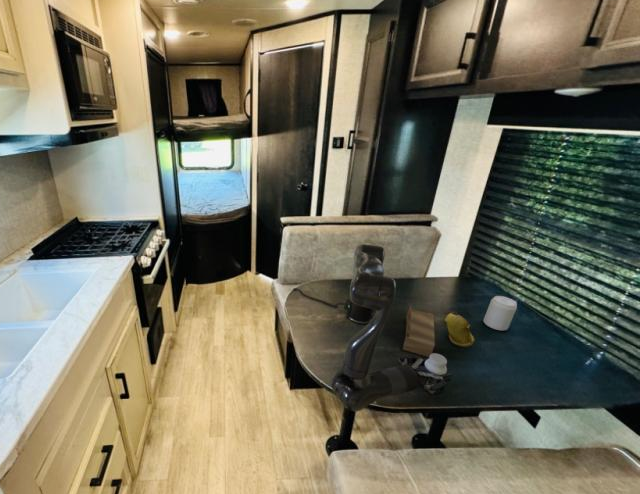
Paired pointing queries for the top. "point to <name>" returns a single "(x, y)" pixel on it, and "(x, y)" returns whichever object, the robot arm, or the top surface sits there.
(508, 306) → the white cylinder
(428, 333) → the striped tan crate
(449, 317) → the yellow flared lump
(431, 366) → the pill bottle
